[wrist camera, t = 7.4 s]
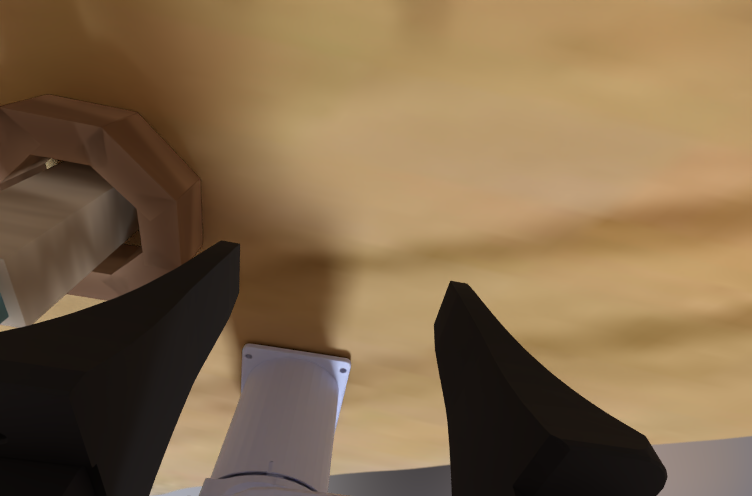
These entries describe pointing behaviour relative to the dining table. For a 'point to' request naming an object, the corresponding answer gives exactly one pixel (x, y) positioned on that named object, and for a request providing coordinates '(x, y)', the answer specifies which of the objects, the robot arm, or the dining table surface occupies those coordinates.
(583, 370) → the dining table surface
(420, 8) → the dining table surface
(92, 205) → the brown and teal block
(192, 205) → the brown faceted ring
